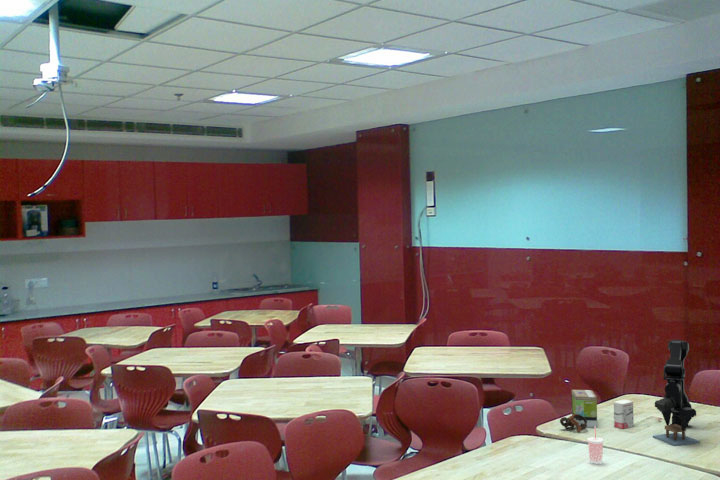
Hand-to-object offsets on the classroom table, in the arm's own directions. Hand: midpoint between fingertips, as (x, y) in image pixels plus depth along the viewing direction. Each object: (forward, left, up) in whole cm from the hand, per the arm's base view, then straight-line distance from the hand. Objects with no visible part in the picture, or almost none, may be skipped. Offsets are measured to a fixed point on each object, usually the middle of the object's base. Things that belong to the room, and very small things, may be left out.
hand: (675, 427), depth 286 cm
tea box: (+21, -36, -6) cm, 42 cm away
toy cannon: (+32, -29, -6) cm, 43 cm away
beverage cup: (+49, +12, -6) cm, 51 cm away
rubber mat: (0, 0, -5) cm, 5 cm away
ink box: (+7, -25, -6) cm, 27 cm away
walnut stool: (0, 0, -4) cm, 4 cm away
